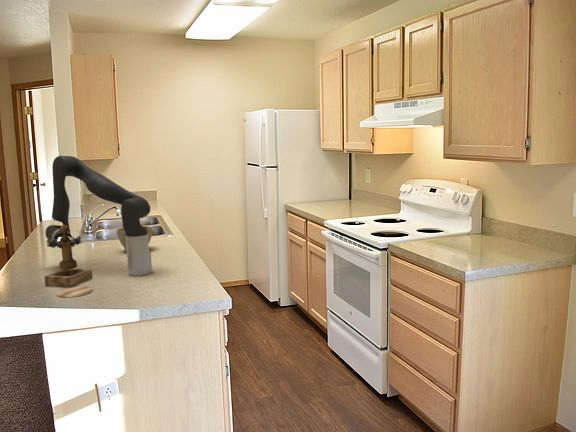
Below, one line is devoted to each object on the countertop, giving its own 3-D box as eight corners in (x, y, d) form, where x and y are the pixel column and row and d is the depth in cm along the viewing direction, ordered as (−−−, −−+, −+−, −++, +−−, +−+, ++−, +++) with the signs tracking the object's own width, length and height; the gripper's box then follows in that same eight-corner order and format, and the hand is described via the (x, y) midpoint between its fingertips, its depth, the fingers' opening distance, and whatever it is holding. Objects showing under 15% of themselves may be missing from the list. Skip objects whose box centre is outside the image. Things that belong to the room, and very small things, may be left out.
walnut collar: (92, 278, 220) (91, 269, 219) (71, 287, 207) (70, 277, 206) (67, 277, 223) (66, 268, 223) (45, 286, 210) (44, 276, 210)
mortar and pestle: (58, 270, 210) (54, 226, 207) (61, 266, 216) (56, 224, 214) (76, 268, 212) (71, 225, 209) (77, 264, 218) (73, 223, 215)
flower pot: (158, 247, 281) (157, 225, 279) (146, 254, 263) (144, 231, 261) (126, 247, 282) (125, 225, 281) (112, 255, 265) (110, 231, 263)
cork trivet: (99, 288, 204) (99, 287, 204) (78, 298, 192) (78, 297, 192) (72, 286, 208) (71, 285, 208) (49, 296, 196) (49, 295, 195)
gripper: (43, 231, 221) (46, 238, 206) (78, 228, 228) (84, 233, 213) (45, 249, 222) (48, 256, 207) (80, 244, 229) (86, 251, 214)
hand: (66, 244), depth 210 cm, fingers closed on mortar and pestle, 4 cm apart
